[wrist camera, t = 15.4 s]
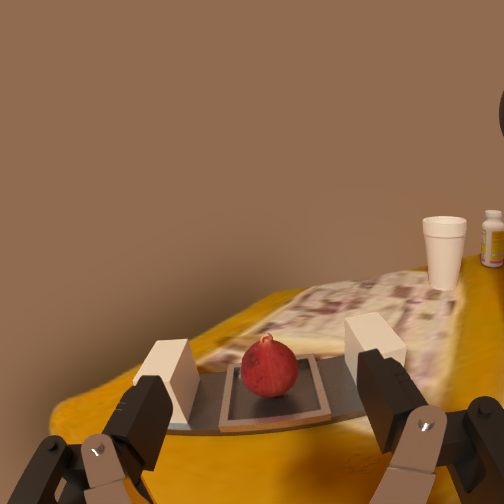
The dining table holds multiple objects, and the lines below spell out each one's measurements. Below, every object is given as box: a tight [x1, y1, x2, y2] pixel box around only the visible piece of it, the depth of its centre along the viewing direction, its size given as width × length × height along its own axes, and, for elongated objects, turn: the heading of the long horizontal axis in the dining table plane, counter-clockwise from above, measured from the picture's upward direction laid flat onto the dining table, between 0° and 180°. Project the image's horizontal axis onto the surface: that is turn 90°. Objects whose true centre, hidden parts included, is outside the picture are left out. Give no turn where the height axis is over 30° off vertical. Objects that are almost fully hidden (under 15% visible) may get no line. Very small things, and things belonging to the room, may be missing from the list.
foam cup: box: [423, 216, 466, 290], centre depth 44 cm, size 10×9×13 cm
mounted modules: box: [133, 311, 407, 423], centre depth 27 cm, size 26×8×6 cm, turn 89°
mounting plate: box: [166, 354, 367, 436], centre depth 27 cm, size 28×11×2 cm, turn 89°
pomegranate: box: [241, 333, 299, 397], centre depth 26 cm, size 6×6×8 cm
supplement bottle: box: [481, 210, 504, 268], centre depth 45 cm, size 7×7×13 cm
